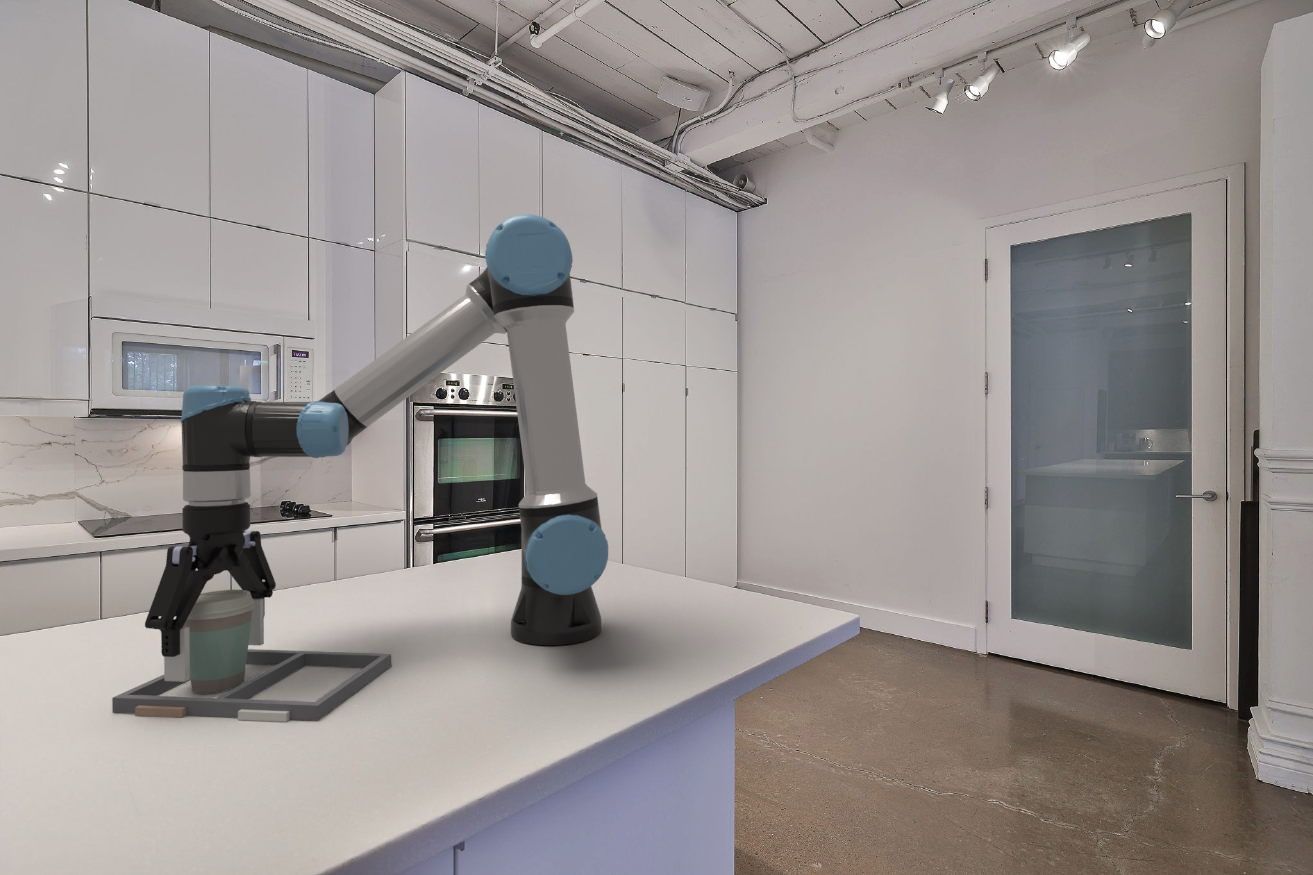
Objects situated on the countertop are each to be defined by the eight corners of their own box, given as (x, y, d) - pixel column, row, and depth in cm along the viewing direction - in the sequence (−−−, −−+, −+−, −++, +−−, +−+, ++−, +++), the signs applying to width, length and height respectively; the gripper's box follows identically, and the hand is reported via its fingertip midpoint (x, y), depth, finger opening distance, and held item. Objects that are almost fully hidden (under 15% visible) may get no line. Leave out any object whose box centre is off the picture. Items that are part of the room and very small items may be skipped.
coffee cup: (270, 678, 91) (269, 591, 91) (210, 702, 83) (210, 607, 83) (225, 670, 94) (224, 586, 94) (162, 693, 86) (162, 601, 86)
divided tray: (391, 666, 96) (391, 653, 96) (314, 722, 77) (314, 707, 77) (222, 660, 98) (221, 648, 98) (108, 714, 80) (107, 699, 80)
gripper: (254, 492, 101) (255, 631, 101) (105, 513, 76) (107, 697, 76) (301, 493, 100) (302, 632, 101) (166, 514, 75) (168, 700, 76)
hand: (218, 661), depth 89 cm, fingers open, 13 cm apart
